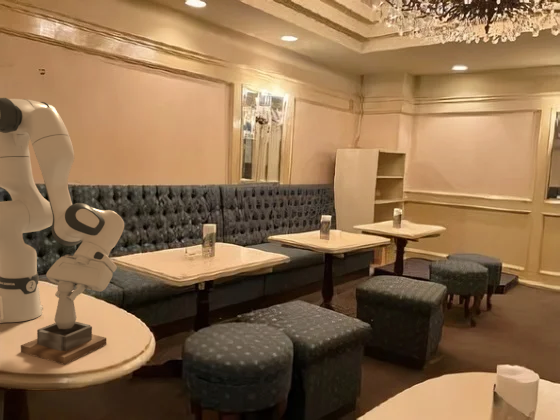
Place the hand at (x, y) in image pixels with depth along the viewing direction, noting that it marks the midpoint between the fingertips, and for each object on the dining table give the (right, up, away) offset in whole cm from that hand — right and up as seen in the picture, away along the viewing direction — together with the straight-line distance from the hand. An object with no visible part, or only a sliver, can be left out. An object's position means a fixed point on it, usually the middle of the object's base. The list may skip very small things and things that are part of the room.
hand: (64, 298), depth 139 cm
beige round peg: (0, -9, +2) cm, 9 cm away
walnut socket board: (-1, -15, +2) cm, 15 cm away
